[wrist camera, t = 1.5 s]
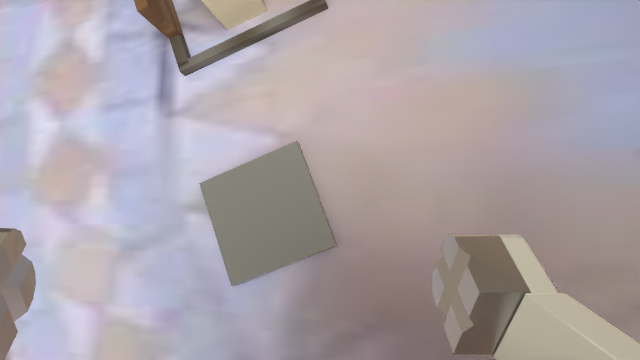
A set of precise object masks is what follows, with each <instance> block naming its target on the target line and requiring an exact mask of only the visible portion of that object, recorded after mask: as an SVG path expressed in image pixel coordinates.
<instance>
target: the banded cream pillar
mask: <svg viewBox="0 0 640 360" xmlns="http://www.w3.org/2000/svg"><path fill="white" fill-rule="evenodd" d="M201 1H202V2H203V3H204V4H205V5H206V6H207V8H208V9H209V10H210V11H211V12H212V13H213V14H214V16H215V17H216V18H217V19H218V20H219V21H220V22H221V24H222V25H223V26H224V27H225V28H226V29H227V30H228V29H230V28H232V27H234V26H236V25H238V24H240V23H243V22H245V21H247V20H249V19H251V18H253V17H255V16H257V15H259V14H261V13H263V12H265V11H267V9H266V6H265V4H264V1H263V0H201Z"/></svg>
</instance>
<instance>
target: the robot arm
mask: <svg viewBox="0 0 640 360" xmlns="http://www.w3.org/2000/svg"><path fill="white" fill-rule="evenodd" d="M25 246H26V243H25V240H24V237H23V235H22V232H21V231H19V230H17V229H9V228H0V360H5V358H6V356H7V354H8V352H9V349H10V347H11V345H12V343H13V341H14V339H15V337H16V335H17V333H18V331H17V329H16V326H15V323H14V321H15V320H17V319H18V318H19V317H21V316H22V315H24V314H25V313H26V312H27V311H28V309H29V307H30V305H31V302H32V300H33V296H34V291H35V285H36V279H35V270H34V267H33V264H32V262H31V261H30V260H29V259H27V258H26V257H25V256H23V255H22V252H23V250H24V248H25ZM441 250H442V253H443V255H444V257H443V258H442V259H441V260H440V261H438V262H437V263H436V264H435V267H434V271H433V274H432V293H433V299H434V301H435V304H436V307H437V309H438V310H439V311H440V312H442V313H443V314H444V315H445V316H446V320H445V323H444V325H443V327H444V330H445V333H446V336H447V338H448V341H449V344H450V347H451V349H452V352H453V354H485V355H494V356H493V357H494V358H495V359H496V360H640V343H638V342H637V341H635V340H634V339H632V338H631V337H629V336H628V335H626V334H625V333H623V332H622V331H620V330H619V329H618V328H616V327H615V326H613V325H612V324H610V323H609V322H607V321H606V320H604V319H603V318H601V317H600V316H598V315H597V314H595V313H594V312H592V311H591V310H589V309H588V308H586V307H585V306H583V305H582V304H580V303H579V302H577V301H576V300H575V299H573V298H572V297H570V296H569V295H567V294H566V293H558V292H557V290H556V289H555V287H554V286H553V284H552V282H551V281H550V279H549V278H548V276H547V274H546V273H545V271H544V270H543V268H542V266H541V265H540V263H539V262H538V260H537V258H536V257H535V255H534V254H533V252H532V250H531V249H530V247H529V246H528V244H527V242H526V241H525V239H524V238H523V237H522V236H520V235H519V234H494V235H492V234H448V235H447V236H446V237H445V238H444V240H443V243H442V246H441Z"/></svg>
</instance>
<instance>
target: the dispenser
mask: <svg viewBox="0 0 640 360" xmlns="http://www.w3.org/2000/svg"><path fill="white" fill-rule="evenodd" d="M134 2H135V5H136V8H137V11H138V12H139V13H140V14H141V15H142V16H144V17H145V18H146V19H147V20H148V21H149V22H150V23H152V24H153V25H154V26H155V27H156V28H157V29H158V30H160V31H161V32H162V33H163V34H164V35H165V36H167V37H168V38H169V39H170V42H171V45H172V48H173V52H174V55H175V58H176V61H177V64H178V67H179V70H180V72H181V73H182V74H184V75H185V76H186V75H188V74H190V73H193V72H195V71H197V70H199V69H201V68H203V67H205V66H207V65H209V64H212V63H214V62H216V61H218V60H220V59H222V58H224V57H226V56H228V55H231V54H233V53H235V52H237V51H239V50H241V49H243V48H245V47H248V46H250V45H252V44H254V43H256V42H258V41H260V40H262V39H264V38H267V37H269V36H271V35H273V34H275V33H277V32H279V31H281V30H283V29H286V28H288V27H290V26H292V25H294V24H296V23H298V22H300V21H303V20H305V19H307V18H309V17H311V16H313V15H315V14H317V13H319V12H322V11H324V10H326V9H328V7H327V4H326V2H325V0H310V1H308V2H306V3H304V4H302V5H300V6H297V7H295V8H293V9H291V10H289V11H287V12H285V13H283V14H281V15H279V16H276V17H274V18H272V19H270V20H268V21H266V22H264V23H262V24H260V25H258V26H256V27H253V28H251V29H249V30H247V31H245V32H243V33H241V34H239V35H237V36H235V37H233V38H230V39H228V40H226V41H224V42H222V43H220V44H218V45H216V46H214V47H212V48H210V49H207V50H205V51H203V52H201V53H199V54H197V55H195V56H193V57H190V54H189V51H188V48H187V45H186V42H185V39H184V36H183V33H182V30H181V27H180V24H179V21H178V18H177V14H176V11H175V8H174V5H173V2H172V0H134Z"/></svg>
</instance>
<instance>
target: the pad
mask: <svg viewBox="0 0 640 360" xmlns="http://www.w3.org/2000/svg"><path fill="white" fill-rule="evenodd" d="M200 186H201V189H202V193H203V196H204V199H205V202H206V206H207V209H208V212H209V215H210V218H211V222H212V225H213V228H214V231H215V234H216V238H217V241H218V244H219V247H220V250H221V254H222V257H223V260H224V263H225V266H226V270H227V273H228V276H229V279H230V282H231V286H236V285H238V284H241V283H243V282H246V281H248V280H251V279H253V278H256V277H258V276H261V275H263V274H266V273H268V272H271V271H273V270H276V269H278V268H281V267H284V266H286V265H289V264H291V263H294V262H296V261H299V260H301V259H304V258H306V257H309V256H311V255H314V254H316V253H319V252H321V251H324V250H326V249H329V248H331V247H334V246H336V245H337V244H336V242H335V239H334V236H333V234H332V231H331V228H330V226H329V223H328V220H327V218H326V215H325V212H324V210H323V207H322V204H321V202H320V199H319V196H318V194H317V191H316V188H315V185H314V183H313V180H312V177H311V175H310V172H309V169H308V167H307V164H306V161H305V159H304V156H303V153H302V151H301V148H300V145H299V143H298V142H297V141H296V142H294V143H291V144H289V145H287V146H284V147H282V148H280V149H277V150H275V151H273V152H271V153H268V154H266V155H264V156H261V157H259V158H257V159H255V160H252V161H250V162H248V163H245V164H243V165H241V166H238V167H236V168H234V169H232V170H229V171H227V172H225V173H222V174H220V175H218V176H215V177H213V178H211V179H209V180H206V181H204V182H202V183H200Z"/></svg>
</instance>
